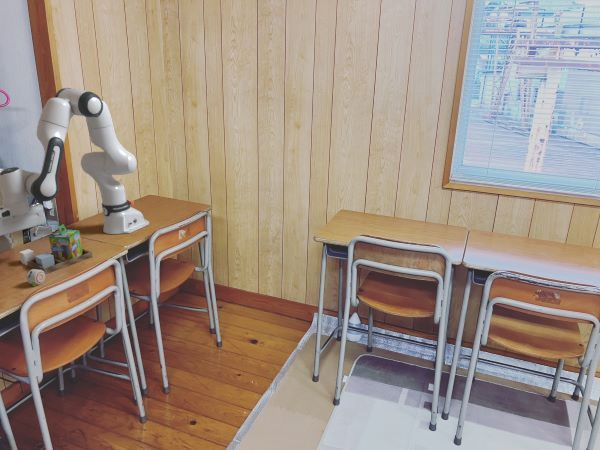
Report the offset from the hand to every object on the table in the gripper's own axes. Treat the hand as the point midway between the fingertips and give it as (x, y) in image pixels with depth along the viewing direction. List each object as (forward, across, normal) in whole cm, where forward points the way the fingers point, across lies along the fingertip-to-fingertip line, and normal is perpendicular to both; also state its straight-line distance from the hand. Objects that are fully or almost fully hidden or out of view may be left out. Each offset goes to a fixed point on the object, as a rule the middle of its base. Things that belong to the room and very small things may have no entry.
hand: (23, 239), depth 206 cm
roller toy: (+11, +8, +22) cm, 26 cm away
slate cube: (+11, -3, +10) cm, 15 cm away
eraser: (+11, -1, -1) cm, 11 cm away
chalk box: (+10, -13, +10) cm, 19 cm away
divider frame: (+10, -9, +10) cm, 17 cm away
